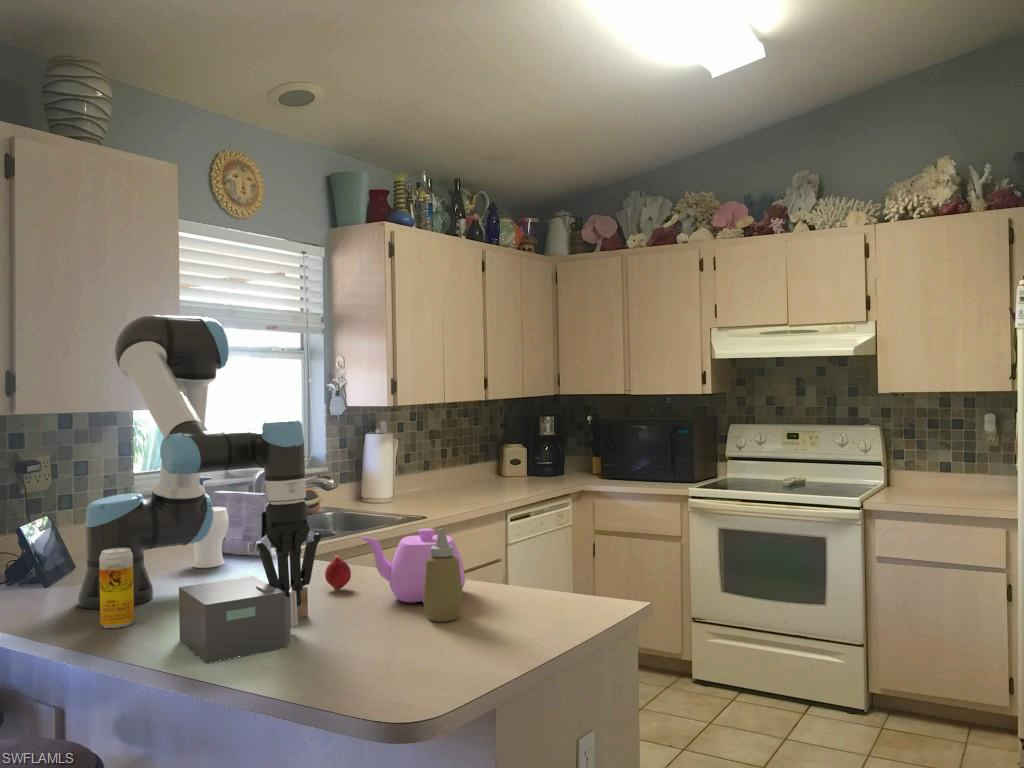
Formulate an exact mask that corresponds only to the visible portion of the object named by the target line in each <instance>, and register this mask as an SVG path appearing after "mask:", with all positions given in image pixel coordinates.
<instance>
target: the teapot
mask: <svg viewBox="0 0 1024 768" xmlns="http://www.w3.org/2000/svg"><path fill="white" fill-rule="evenodd" d="M435 531H436V530H435V529H433V528H431V527H430V528H427V527H426V528H420V529H418V530H417V532H418V533H417V535H408V536H405V537H402V538H401V539H400V541H399V543H398V545H397V548H396V550H395V553H394V556H393V559H392V561H391V562H390V561H389V560H387V559H386V558H385V556H384V553H383V550H382V545H381V542H380V541H379V540H378V539H376V538H375V537H368V536H360V539H362V540H363V541H365V542H366V543H368V545H369V546H370V548H371V549H372V552H373V556H374V561H375V562H374V563H375V566H376V570H377V571H378V573H379V575H380V576H381V577H382V578H383V579H384V580H385V581H388V582H389V587H390V591H392V594H393V595H394V597H395V598H396V599H397V600H398V601H401V602H404V603H405V602H407V603H406V604H415V603H414V602H417V603H420V602H422V603H423V592H424V580H425V567H426V560H427V559H428V558H430V557H432V556H431V553H430V548H431V547H432V546H436V541H437V535H438V534H435ZM446 537H447V541H448V545H451V546H453V547H454V554H453V555H452V556H455V557H456V558H457V559H458V560H459V568H460V576H461V585H462V589H463V588H464V585H465V583H466V582H465V581H466V576H465V568H464V564H463V560H462V557H461V555H460V552H459V550H458V547H457V545H456V542H455V541H454V539H453V538H452V536H450V535H447V534H446Z"/></svg>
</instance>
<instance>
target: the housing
mask: <svg viewBox="0 0 1024 768" xmlns="http://www.w3.org/2000/svg"><path fill="white" fill-rule="evenodd" d="M178 609H179V611H178V614H179V616H178V619H179V621H178V623H179V642H180V641H181V642H180V643H181V644H183V645H184V646H185V645H186V646H187V647H188V650H190V651H191V652H192V651H193V652H194V653H195V654H194V653H193V652H192V653H193V654H194V655H196V656H197V657H198V656H199V657H200V658H201V659H202V660H201V659H200V658H199V657H198V658H199V659H200V660H201V661H202V662H204V663H205V664H206V663H208V664H211V663H210V662H213V663H216V662H215V661H218V662H220V661H219V660H223V661H225V660H224V659H228V658H233V659H235V658H234V657H238V656H243V657H245V656H244V655H248V656H251V654H253V655H256V654H257V653H258V654H262V653H263V654H264V653H267V651H268V652H271V651H272V652H273V651H276V650H277V649H278V650H281V649H282V648H283V649H286V648H287V645H286V620H285V592H284V591H282V590H280V589H278V588H276V587H274V586H272V585H270V584H269V582H268V583H267V582H265V581H264V580H261V579H260V578H257V576H256V577H255V576H245V577H238V578H233V579H226V580H218V581H212V582H205V583H199V584H198V583H197V584H192V585H191V584H190V585H185V586H184V585H183V586H179V587H178ZM186 646H185V647H186ZM187 647H186V648H187ZM278 650H277V651H278ZM238 658H239V657H238ZM228 660H229V659H228Z"/></svg>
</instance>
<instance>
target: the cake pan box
mask: <svg viewBox="0 0 1024 768" xmlns="http://www.w3.org/2000/svg"><path fill="white" fill-rule="evenodd" d="M268 503H269V501H267V500H265V493H263V492H262V493H261V492H260V493H259V492H250V491H249V492H247V491H230V490H229V491H228V490H218V491H217V490H216V491H213V492H212V504H213V506H212V507H225V508H226V510H227V514H228V521H229V525H228V529H227V533H226V535H225V537H224V539H223V542H222V550H221V551H222V554H229V555H239V556H253V557H260V553H259V552H258V551H257V550H256V548H255V547H254V542H256V541H260V540H261V539H262V538H263V537H264V536H265V531H266V529H267V520H266V505H267V504H268ZM268 550H269V552H270V554H271V555H272V544H271V543H270V542H269V548H268Z"/></svg>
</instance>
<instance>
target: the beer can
mask: <svg viewBox="0 0 1024 768" xmlns="http://www.w3.org/2000/svg"><path fill="white" fill-rule="evenodd" d="M99 568H100V609H99V610H100V611H99V613H100V614H99V616H100V618H99V620H100V621H99V622H100V623H99V624H100V625H101V626H102V627H103V628H104V629H106V628H117V629H119V628H118V627H123V628H125V627H124V626H126V627H129V626H131V625H130V624H132V623H133V621H134V620H135V609H134V608H135V605H134V594H133V554H132V552H131V549H130V548H113V549H107V550H103V551H102V552H101V555H100V557H99ZM128 625H129V626H128Z"/></svg>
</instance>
